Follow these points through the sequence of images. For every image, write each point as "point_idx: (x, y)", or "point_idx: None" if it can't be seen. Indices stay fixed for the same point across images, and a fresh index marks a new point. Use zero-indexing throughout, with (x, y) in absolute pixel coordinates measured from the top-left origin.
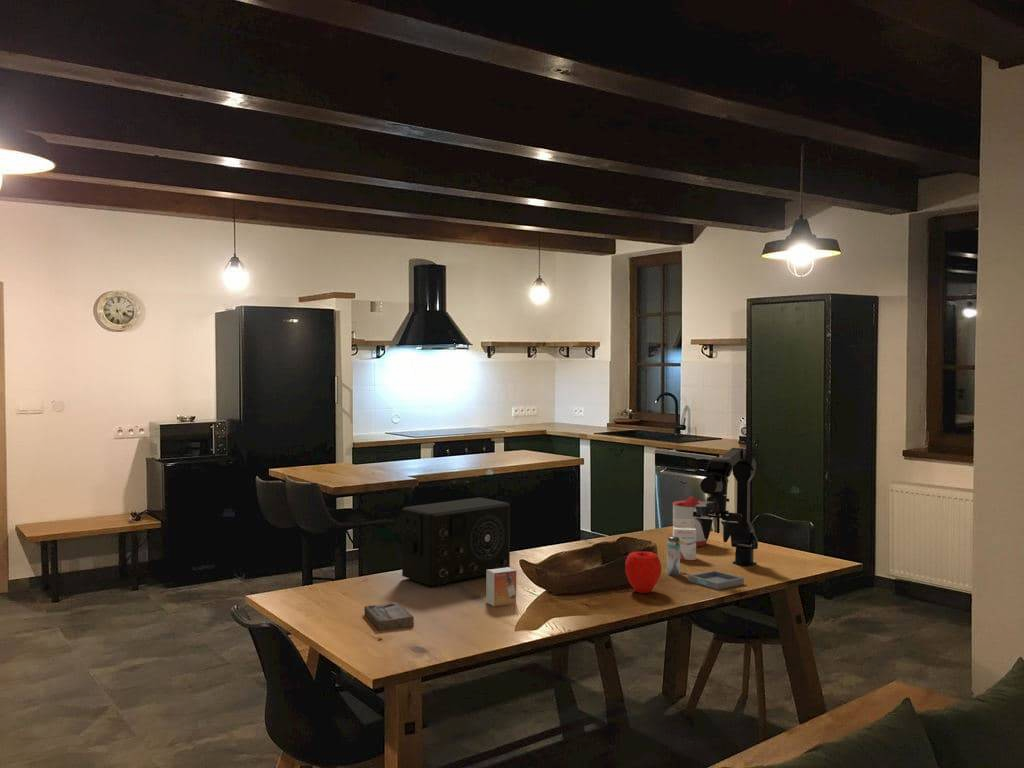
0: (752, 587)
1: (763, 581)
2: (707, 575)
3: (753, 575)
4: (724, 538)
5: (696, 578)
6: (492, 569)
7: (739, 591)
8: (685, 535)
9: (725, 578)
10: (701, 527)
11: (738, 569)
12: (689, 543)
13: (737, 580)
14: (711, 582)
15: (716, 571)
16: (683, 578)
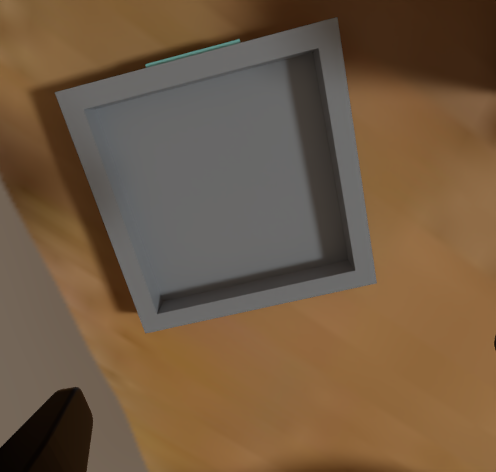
0: (80, 316)
1: (173, 424)
2: (340, 200)
3: (291, 446)
4: (18, 436)
5: (253, 40)
6: None
7: (14, 203)
8: None
9: (262, 277)
10: None
11: (422, 449)
12: None
13: (128, 279)
14: (110, 77)
15: (346, 277)
16: (416, 47)
